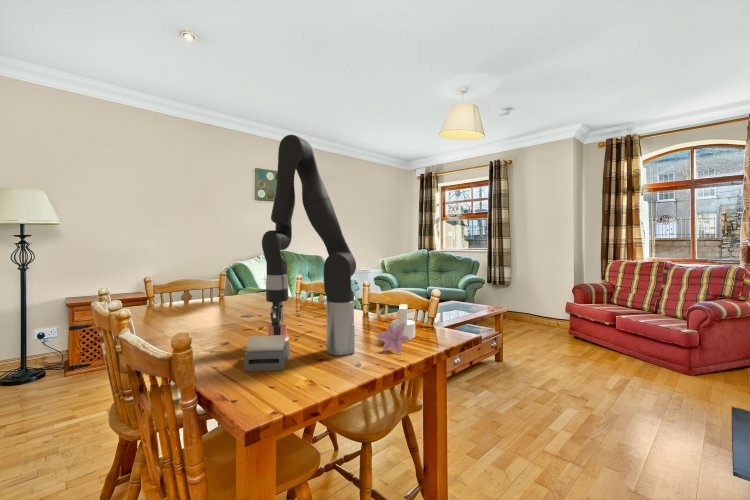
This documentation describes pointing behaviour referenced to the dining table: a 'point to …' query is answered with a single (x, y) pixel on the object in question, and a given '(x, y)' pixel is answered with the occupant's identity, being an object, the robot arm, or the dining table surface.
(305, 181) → the robot arm
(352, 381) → the dining table surface
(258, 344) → the dispenser
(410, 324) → the base with upright slab
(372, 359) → the dining table surface
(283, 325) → the pink-tipped cream block
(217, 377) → the dining table surface
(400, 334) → the lily
